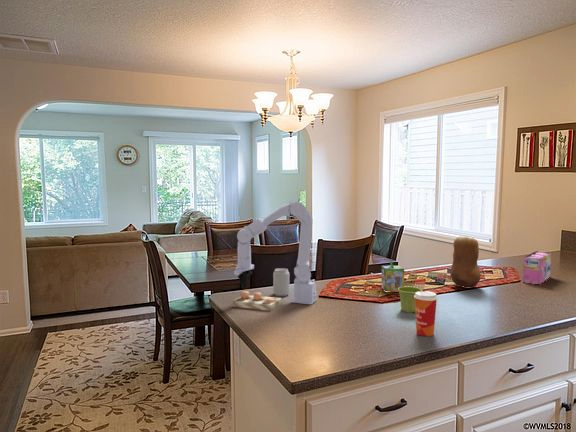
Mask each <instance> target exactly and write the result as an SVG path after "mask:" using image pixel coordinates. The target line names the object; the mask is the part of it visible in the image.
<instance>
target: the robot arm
mask: <svg viewBox="0 0 576 432" xmlns="http://www.w3.org/2000/svg"><path fill="white" fill-rule="evenodd" d="M291 215H292V216H293V217H295V218H296V219H297V220H298V221H299V222H300V231H299V234H300V235H299V243H298V253H297V254H298V255H297V260H296V265H295V267H294V268H293V274H294V276H295V278H294V280H293V287H294V288H293V291H294V293H293V299H292V300H291V301H290V303H293V304H304V305H313V304H314V303H315V302H316V301H317V300H318V298H317V283H316V282H314V281H311V277H312V273H311V270H310V253H311V243H312V242H311V241H312V231H313V230H312V229H313V218H312V216H311V213H310V212H309V210H308V208H307V206H306V205H304V204H303V202H300V201H298V200H291V201H289V203H285V204H283V205H281V206H280V207H278V208H277V209H275V211H273V212H271V213H270V214H269V215H267V216H266V217H264V218H263V219H262V218H257V219H256V218H255V219H254V220H253V221H252V223H250V224H248V225H244V226H243V228H241V229H240V230H239V231H238V232H237V234H236V238H237V266H235V270H234V271H233V275H234V276H237V278H238V280H239V282H240V283H239V284H240V286H241V289H242V290H243V289H244V290H247V289H248V287H249V284H250V280H251V277H252V275H253V271H251V270H254V269H255V264H253V263H252V248H251V247H252V246H251V240H252V239H253V238H254V239H255V238H256V237H257V236H258V235H261V234H262V233H263V232H265V231H266V230H267V226H269V225H270V224H272V223H274V222H275V221H277V220H278V219H280V218H282V217H289V216H291Z"/></svg>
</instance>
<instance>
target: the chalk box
mask: <svg viewBox="0 0 576 432" xmlns="http://www.w3.org/2000/svg"><path fill="white" fill-rule="evenodd" d="M388 261H389V264H390V265H381V284H380V285H381V286H380V287H382V288H383V289H384V290H385V291H398V288H399V287H405V268H404V267H402V266H400V265H394V263H393V261H392V260H391V259H389V260H388ZM382 288H381V289H382Z"/></svg>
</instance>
